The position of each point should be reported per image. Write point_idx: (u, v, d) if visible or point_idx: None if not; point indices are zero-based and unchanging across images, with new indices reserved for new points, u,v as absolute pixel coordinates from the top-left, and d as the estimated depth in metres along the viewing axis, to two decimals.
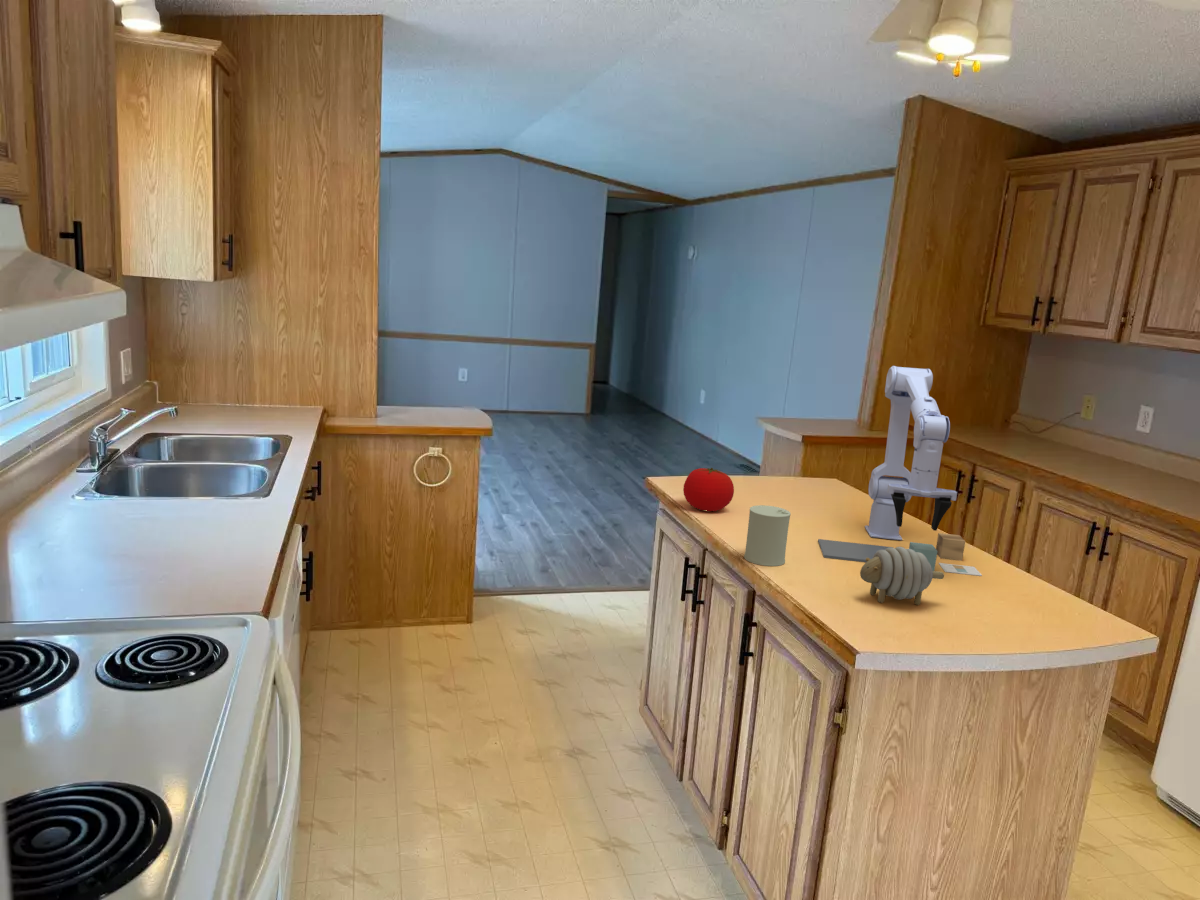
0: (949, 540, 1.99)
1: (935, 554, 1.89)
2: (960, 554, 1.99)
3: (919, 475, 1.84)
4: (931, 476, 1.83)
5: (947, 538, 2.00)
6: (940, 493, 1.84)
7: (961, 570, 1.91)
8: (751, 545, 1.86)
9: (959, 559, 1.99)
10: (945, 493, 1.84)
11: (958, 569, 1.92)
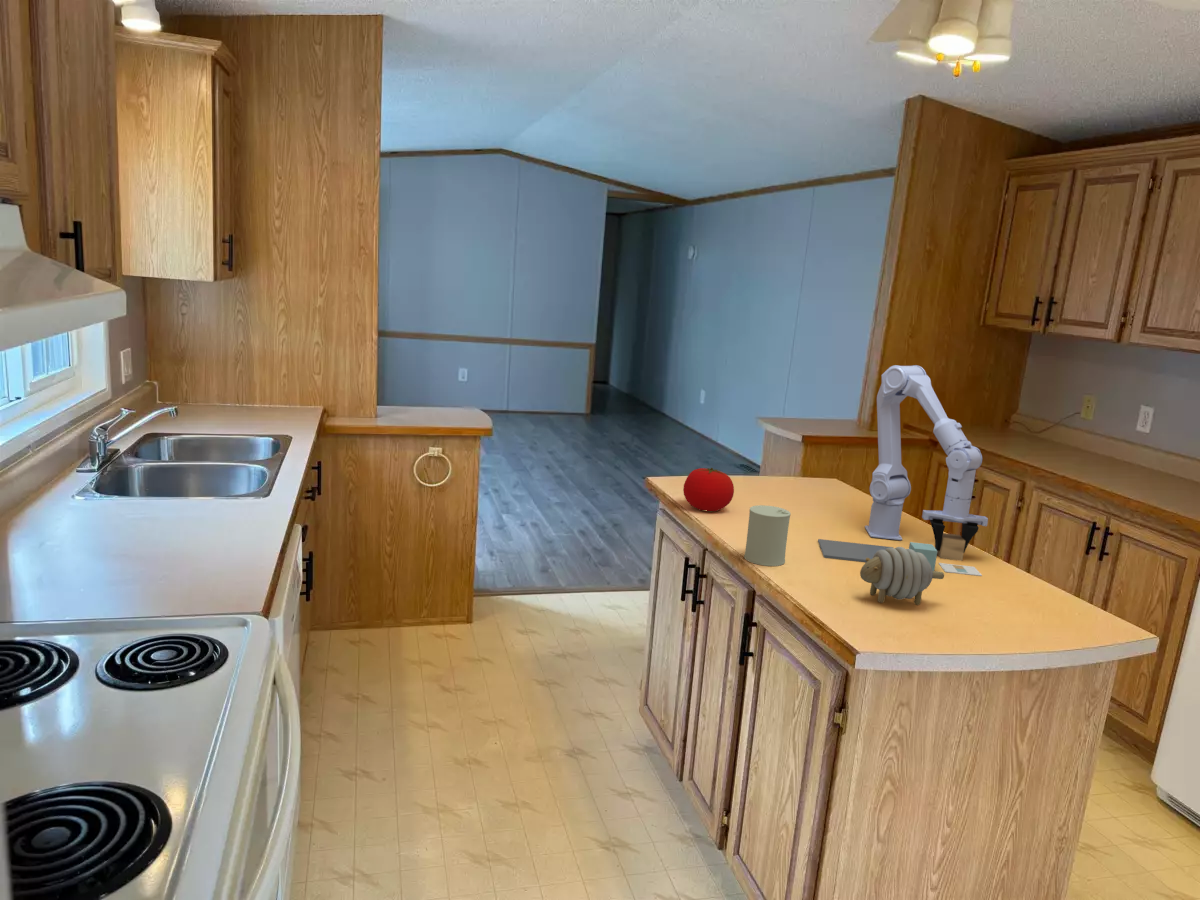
0: (949, 540, 1.99)
1: (935, 554, 1.89)
2: (960, 554, 1.99)
3: (953, 502, 1.97)
4: (964, 503, 1.96)
5: (947, 538, 1.99)
6: (972, 519, 1.98)
7: (961, 570, 1.91)
8: (751, 545, 1.86)
9: (959, 559, 1.99)
10: (977, 519, 1.98)
11: (958, 569, 1.92)
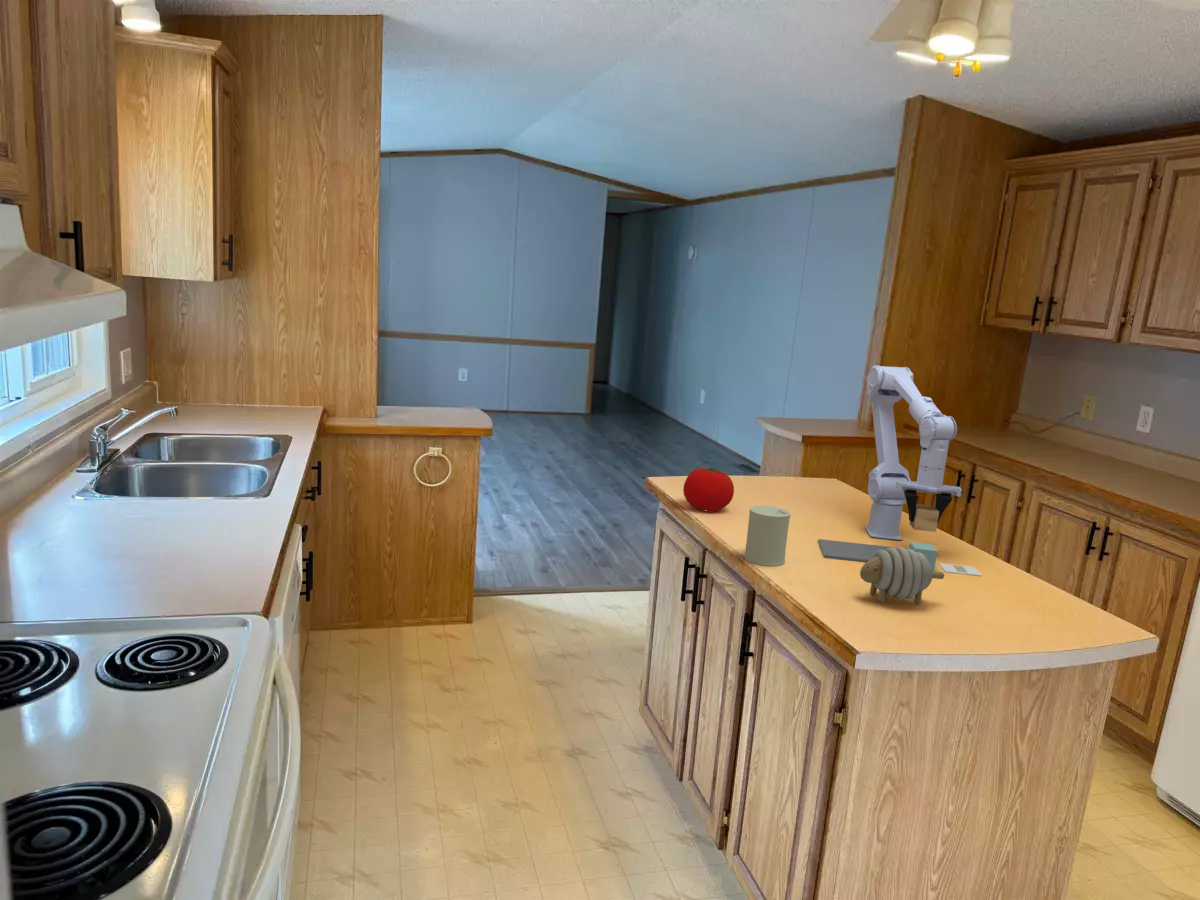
0: (923, 510, 1.96)
1: (935, 554, 1.89)
2: (934, 525, 1.97)
3: (926, 472, 1.95)
4: (938, 473, 1.94)
5: (921, 508, 1.97)
6: (946, 489, 1.95)
7: (961, 570, 1.91)
8: (751, 545, 1.86)
9: (933, 530, 1.97)
10: (950, 489, 1.95)
11: (958, 569, 1.92)
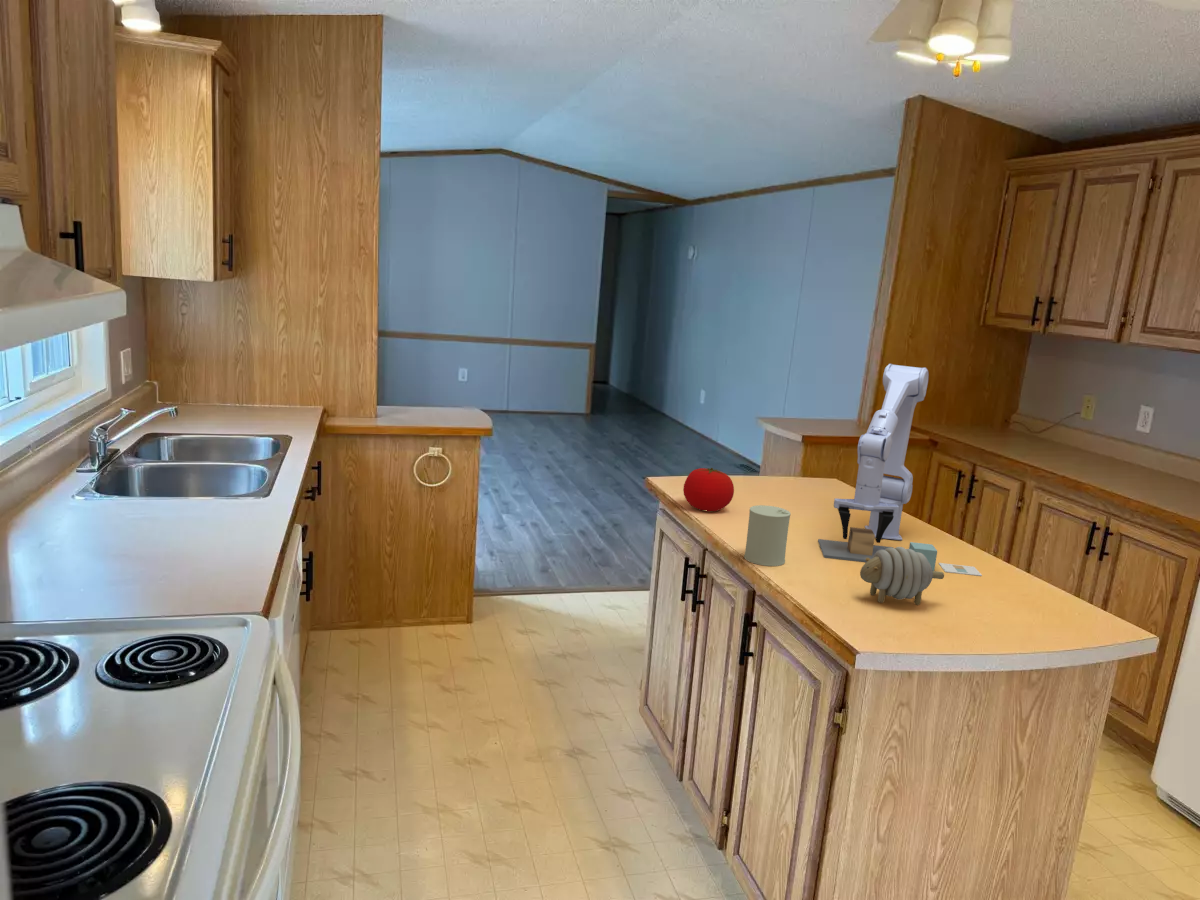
0: (859, 534, 1.96)
1: (935, 554, 1.89)
2: (870, 548, 1.96)
3: (862, 490, 1.94)
4: (874, 491, 1.93)
5: (857, 532, 1.96)
6: (882, 507, 1.94)
7: (961, 570, 1.91)
8: (751, 545, 1.86)
9: (869, 553, 1.96)
10: (887, 507, 1.94)
11: (958, 569, 1.92)
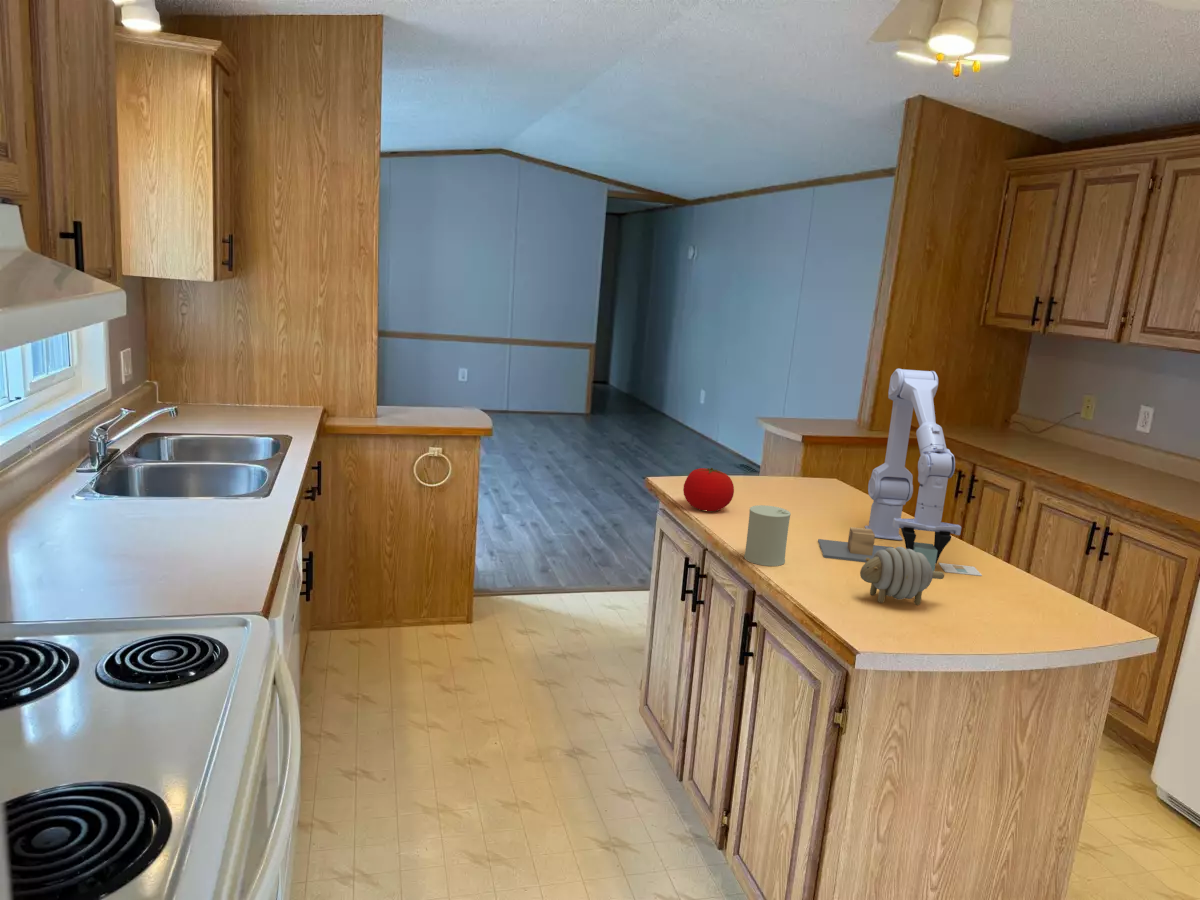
0: (859, 534, 1.96)
1: (935, 554, 1.89)
2: (870, 548, 1.96)
3: (924, 510, 1.88)
4: (936, 511, 1.87)
5: (857, 532, 1.96)
6: (945, 528, 1.88)
7: (961, 570, 1.91)
8: (751, 545, 1.86)
9: (869, 553, 1.96)
10: (949, 528, 1.88)
11: (958, 569, 1.92)
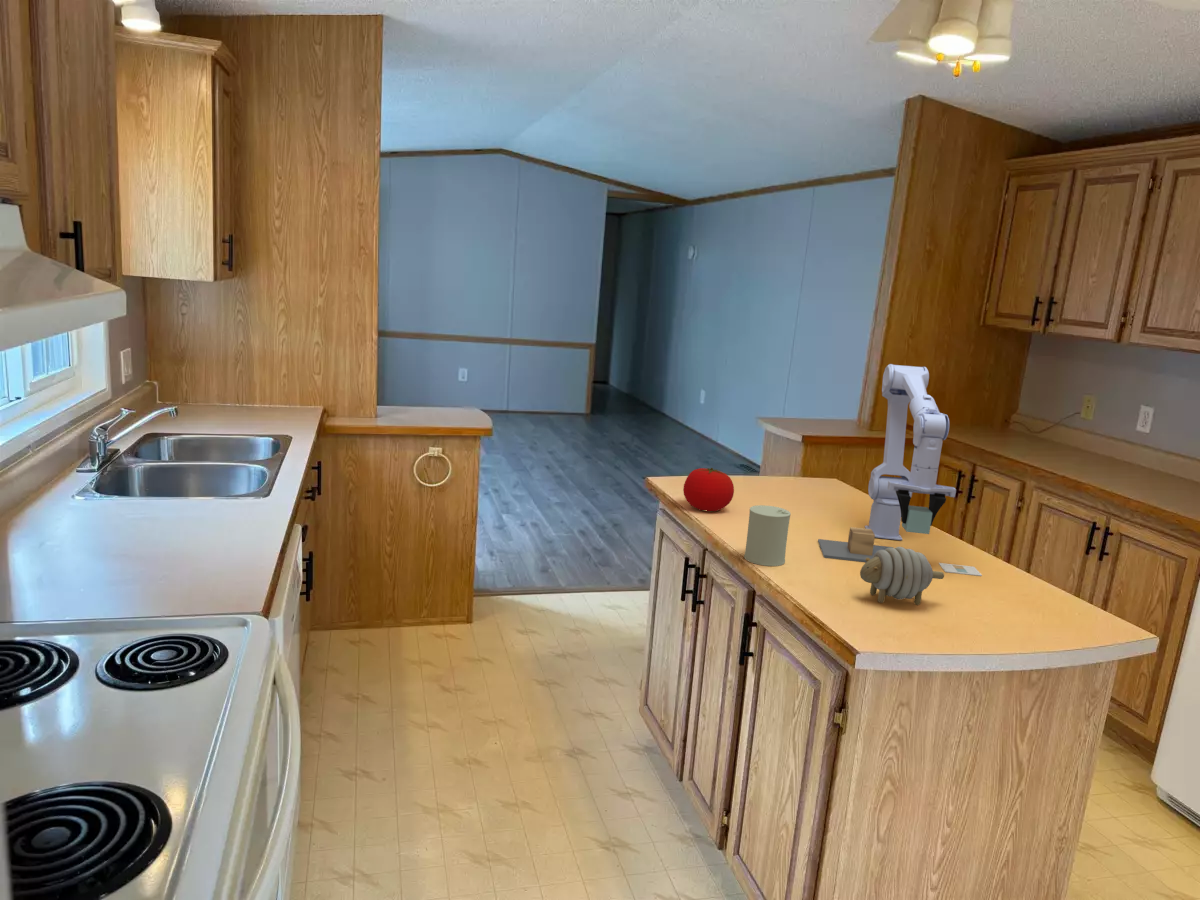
0: (859, 534, 1.96)
1: (930, 516, 1.88)
2: (870, 548, 1.96)
3: (919, 472, 1.87)
4: (931, 472, 1.86)
5: (857, 532, 1.96)
6: (939, 490, 1.87)
7: (961, 570, 1.91)
8: (751, 545, 1.86)
9: (869, 553, 1.96)
10: (944, 490, 1.88)
11: (958, 569, 1.92)
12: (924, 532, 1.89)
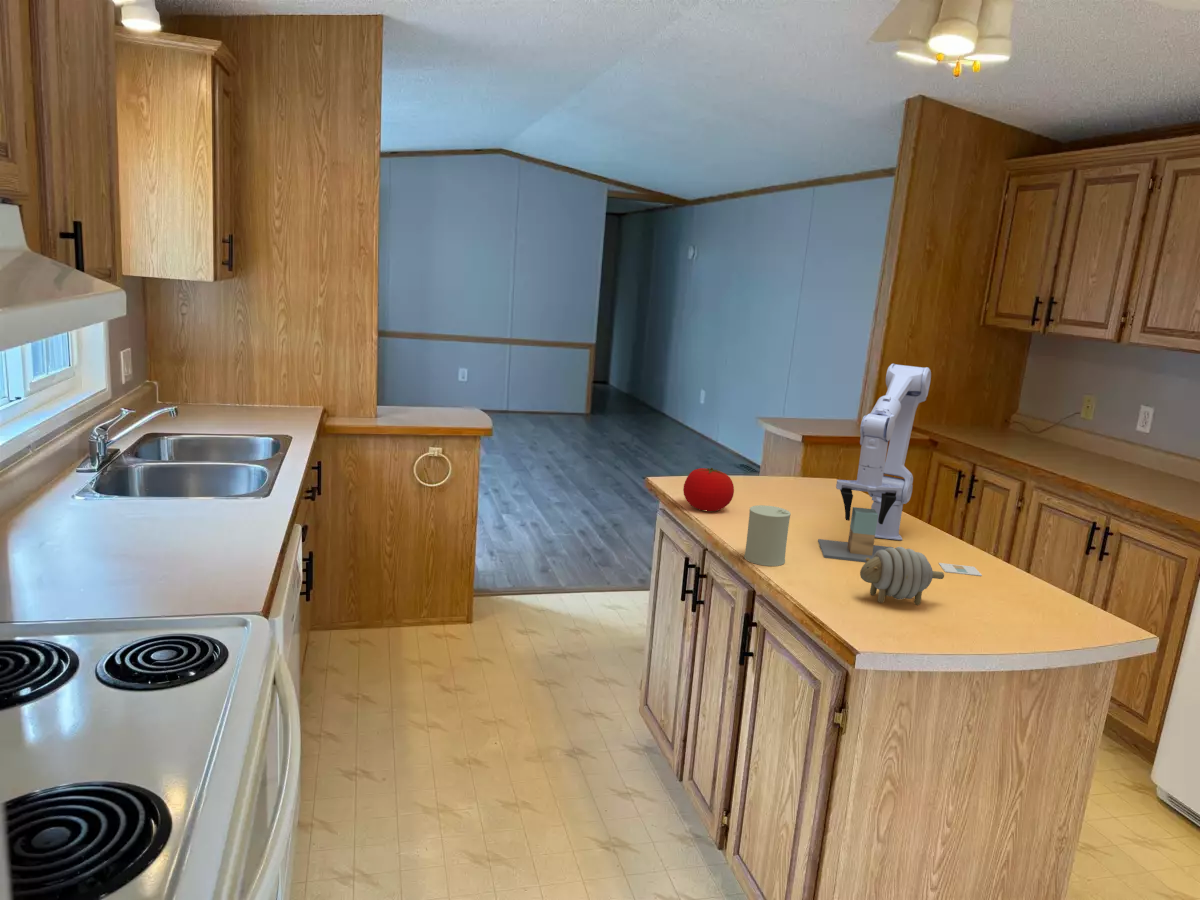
0: (859, 534, 1.96)
1: (876, 518, 1.94)
2: (870, 548, 1.96)
3: (865, 471, 1.93)
4: (876, 472, 1.92)
5: None
6: (885, 488, 1.93)
7: (961, 570, 1.91)
8: (751, 545, 1.86)
9: (869, 553, 1.96)
10: (890, 488, 1.93)
11: (958, 569, 1.92)
12: (870, 533, 1.95)
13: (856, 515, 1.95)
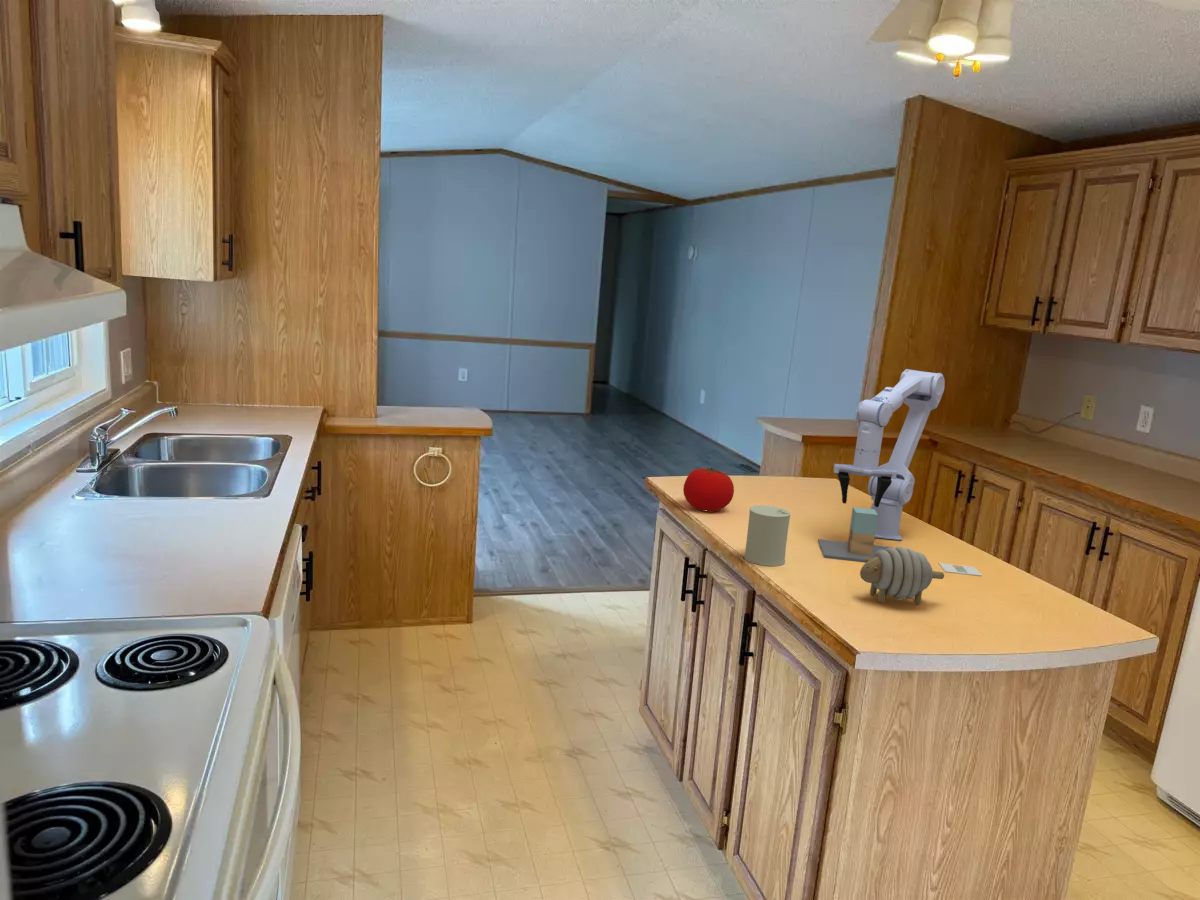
0: (859, 534, 1.96)
1: (876, 518, 1.94)
2: (870, 548, 1.96)
3: (862, 455, 1.99)
4: (872, 456, 1.98)
5: None
6: (881, 472, 1.99)
7: (961, 570, 1.91)
8: (751, 545, 1.86)
9: (869, 553, 1.96)
10: (886, 472, 2.00)
11: (958, 569, 1.92)
12: (870, 533, 1.95)
13: (856, 515, 1.95)
